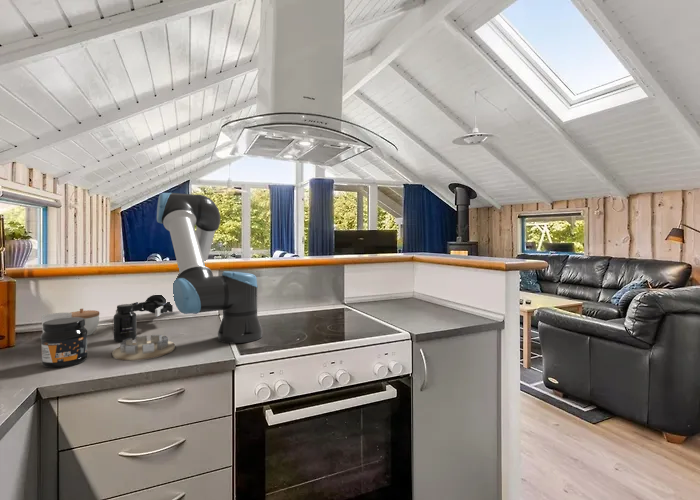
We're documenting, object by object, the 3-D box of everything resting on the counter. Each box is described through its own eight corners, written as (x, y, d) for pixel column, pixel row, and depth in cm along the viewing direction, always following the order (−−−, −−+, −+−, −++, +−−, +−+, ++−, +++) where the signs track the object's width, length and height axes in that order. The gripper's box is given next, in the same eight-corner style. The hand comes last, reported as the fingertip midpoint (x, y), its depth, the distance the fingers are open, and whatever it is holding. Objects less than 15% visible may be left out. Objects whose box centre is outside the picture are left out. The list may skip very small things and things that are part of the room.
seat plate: (185, 344, 125) (185, 341, 125) (152, 361, 108) (152, 358, 108) (137, 342, 127) (137, 339, 127) (98, 359, 110) (98, 355, 110)
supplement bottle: (126, 343, 126) (125, 307, 126) (108, 341, 128) (107, 306, 127) (141, 337, 133) (140, 303, 133) (124, 336, 134) (123, 302, 134)
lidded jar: (81, 330, 143) (80, 305, 142) (107, 331, 141) (106, 306, 141) (55, 338, 132) (54, 311, 132) (83, 339, 131) (82, 312, 130)
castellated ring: (175, 342, 123) (175, 335, 123) (150, 355, 110) (150, 347, 110) (139, 341, 125) (139, 333, 125) (110, 353, 112) (110, 345, 112)
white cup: (78, 343, 125) (77, 313, 125) (51, 350, 118) (50, 318, 118) (64, 340, 129) (63, 311, 128) (36, 347, 122) (36, 316, 121)
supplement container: (35, 371, 100) (34, 326, 100) (48, 359, 110) (47, 318, 109) (83, 366, 104) (82, 323, 104) (91, 354, 114) (90, 315, 114)
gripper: (188, 310, 163) (172, 322, 142) (126, 312, 159) (100, 324, 138) (188, 293, 162) (172, 302, 141) (125, 294, 159) (99, 304, 138)
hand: (136, 313), depth 140 cm, fingers open, 13 cm apart
